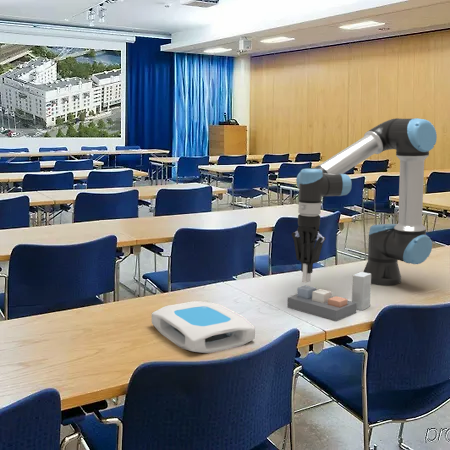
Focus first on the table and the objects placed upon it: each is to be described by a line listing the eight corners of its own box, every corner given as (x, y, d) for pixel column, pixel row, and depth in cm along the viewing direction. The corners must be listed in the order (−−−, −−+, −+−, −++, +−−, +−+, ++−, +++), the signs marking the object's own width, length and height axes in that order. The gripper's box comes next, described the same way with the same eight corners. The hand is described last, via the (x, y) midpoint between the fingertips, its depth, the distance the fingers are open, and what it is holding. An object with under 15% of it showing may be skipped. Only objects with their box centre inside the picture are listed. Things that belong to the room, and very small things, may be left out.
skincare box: (358, 304, 212) (360, 271, 210) (370, 306, 209) (371, 273, 207) (350, 308, 207) (352, 274, 205) (362, 310, 205) (363, 276, 202)
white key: (319, 300, 208) (320, 288, 207) (331, 302, 205) (331, 291, 204) (312, 302, 205) (312, 291, 204) (323, 305, 202) (323, 294, 201)
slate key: (305, 296, 212) (305, 285, 212) (315, 298, 209) (316, 287, 209) (297, 298, 209) (297, 287, 208) (307, 301, 206) (308, 290, 205)
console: (308, 299, 216) (308, 290, 216) (356, 312, 203) (356, 302, 202) (287, 307, 208) (287, 297, 207) (336, 321, 194) (336, 310, 194)
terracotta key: (335, 307, 204) (335, 296, 203) (347, 310, 201) (347, 299, 200) (327, 310, 201) (328, 298, 200) (339, 313, 197) (339, 301, 197)
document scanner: (193, 357, 165) (193, 336, 163) (150, 327, 188) (150, 307, 187) (256, 343, 175) (256, 322, 174) (208, 316, 199) (209, 297, 198)
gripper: (287, 213, 206) (284, 279, 210) (318, 218, 197) (315, 287, 201) (300, 211, 211) (297, 276, 215) (331, 215, 202) (328, 283, 206)
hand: (306, 281), depth 208 cm, fingers closed
